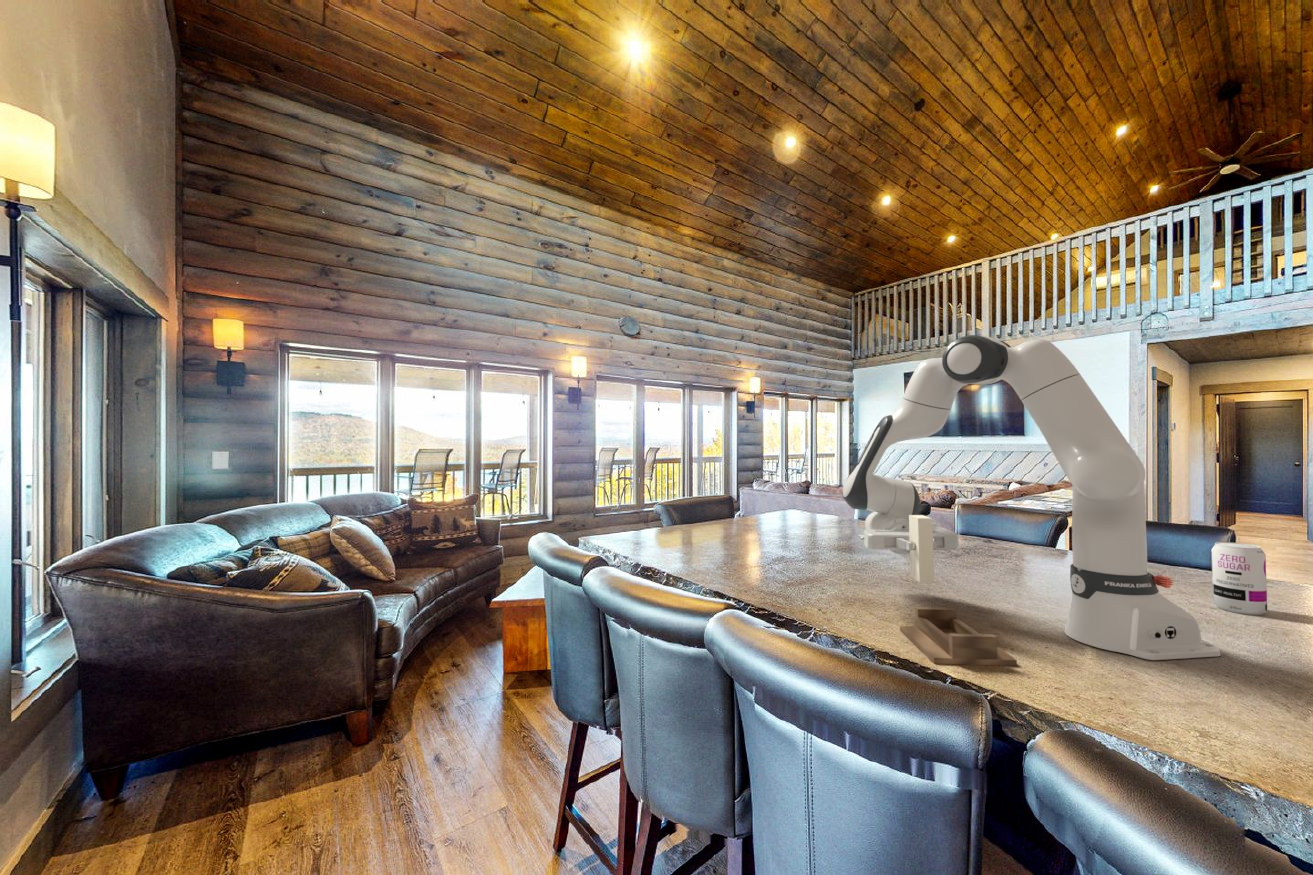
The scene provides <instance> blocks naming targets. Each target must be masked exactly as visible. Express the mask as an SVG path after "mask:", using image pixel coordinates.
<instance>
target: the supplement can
mask: <svg viewBox="0 0 1313 875" xmlns="http://www.w3.org/2000/svg"><path fill="white" fill-rule="evenodd" d="M1210 551H1211V577H1212V578H1211V583H1212V604H1214V605H1215V606H1216V607H1217V608H1218V609H1220V610H1223V611H1226V612H1232V613H1235V614H1241V615H1251V616H1260V615H1264V614H1265V613H1267V612H1268V589H1267V588H1268V587H1267V584H1268V583H1267V562H1266V557H1267V556H1266V553H1265V552H1264V550H1263V548H1262V547H1261V546H1259V545H1256V544H1249V543H1241V542H1231V541H1230V542H1228V541H1224V542H1223V541H1217V542H1216V541H1215V543H1214V545H1213V547H1212V548H1211V550H1210Z"/></svg>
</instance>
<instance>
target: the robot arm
mask: <svg viewBox="0 0 1313 875" xmlns="http://www.w3.org/2000/svg"><path fill="white" fill-rule="evenodd" d="M1003 381H1004V382H1007V383H1008V384H1009V385H1010V386H1011V387H1012V389H1013V390H1014V391H1015V393H1016V395H1017V396H1018V397H1019V399H1020V401H1021V402H1022V404H1023V406H1024V407H1025V409H1026V411H1027V412H1028V413H1029V415H1030V417H1031V418H1032V419H1033V421H1034V423H1035V425H1036V426H1037V427H1038V429H1039V430H1040V432H1041V434H1042V436H1043V437H1044V439H1045V441H1046V443H1047V445H1048V446H1049V449H1050V450H1051V452H1052V453H1053V455H1054V457H1055V459H1056V460H1057V462H1058V464H1059V466H1060V467H1061V469H1062V471H1063V472H1064V474H1065V475H1066V477H1067V479H1068V481H1069V482H1070V484H1071V485H1072V509H1071V510H1072V513H1071V515H1072V516H1071V540H1072V541H1071V544H1072V549H1071V550H1072V563H1071V564H1070V571H1069V573H1070V574H1069V576H1070V579H1069V580H1070V588H1071V591H1072V592H1071V593H1072V594H1071V603H1070V604H1071V605H1070V609H1069V611H1070V612H1069V615H1068V620H1067V622H1066V626H1065V628H1064V633H1065V634H1066V636H1067V637H1069V638H1071V639H1073V640H1075V641H1076V642H1080V643H1082V644H1085V645H1088V646H1091V647H1095V648H1098V649H1102V650H1106V651H1110V652H1116V653H1117V652H1118V653H1122V654H1126V655H1130V656H1133V657H1137V658H1140V659H1143V660H1150V661H1161V660H1164V661H1165V660H1177V659H1178V660H1179V659H1180V660H1181V659H1194V658H1195V659H1196V658H1210V657H1211V658H1212V657H1220V656H1221V650H1220V649H1219V648H1218V647H1217V646H1215V645H1213V644H1212V643H1210V642H1208V641H1206V640H1204V639H1202V636H1201V630H1200V626H1199V624H1198V621H1197V620H1196V618H1195V617H1194V616H1193V615H1192V614H1191V613H1190V612H1187V611H1186V610H1185V609H1183V608H1182V607H1180V606H1178V604H1176V603H1175V602H1173V601H1171V600H1170V599H1168V597H1166V596H1164V595H1163V594H1162V593H1160V591H1159V589H1158V587H1157V586H1160V587H1162V588H1165V589H1170V588H1171V587H1172V586H1173V584H1174V582H1173V579H1172V578H1170V577H1167V576H1163V575H1160V574H1158V575H1155V576H1154V574H1152V573H1150V572H1149V571H1148V544H1147V522H1146V520H1147V519H1146V502H1145V500H1146V499H1145V480H1146V469H1145V466H1144V464H1143V462H1142V461H1141V459H1140V458H1139V456H1138V454H1137V453H1136V452H1135V450H1134V449H1133V447H1132V446H1131V445H1130V443H1129V442H1128V440H1127V439H1126V437H1125V436H1124V435H1123V433H1122V432H1121V431H1120V429H1119V428H1118V426H1117V425H1116V423H1115V422H1114V420H1113V419H1112V418H1111V416H1110V415H1109V413H1108V412H1107V410H1106V409H1105V407H1104V405H1102V403H1101V401H1099V399H1098V398H1097V396H1096V394H1095V393H1094V392H1093V391H1092V389H1091V387H1090V386H1089V385H1088V383H1087V382H1086V380H1085V379H1084V377H1083V376H1082V375H1081V373H1080V372H1079V370H1078V368H1076V366H1075V364H1073V362H1072V361H1071V360H1070V359H1069V358H1068V357H1067V356H1066V355H1065V354H1064V353H1063V351H1062V350H1060V349H1059V348H1058V346H1056V345H1055V344H1054V343H1052V342H1051V341H1049V340H1047V339H1043V338H1041V339H1040V338H1037V339H1030V340H1027V341H1025V342H1022V343H1020V344H1018V345H1016V346H1010V344H1008V343H1007V342H1004V341H1002V340H999V339H996V338H994V337H991V336H986V335H976V334H969V335H965V336H960V337H959V338H956V339H954V340H953V341H951V342H950V344H948V346H947V347H946V348H945V349H944V351H943V354H942V358H939V357H934V358H933V357H931V358H927V359H924V360H922V361H921V362H920V363H918V364H917V366H916V368H915V369H914V371H913V373H912V375H911V377H910V379H909V381H908V383H907V386H906V388H905V391H904V393H903V396H902V399H901V402H900V403H899V405H898V407H897V408H896V409H895V410H894V411H892V413H890V415H885V416H883V417H882V418H881V419H880V421H879V422H878V423H877V425H876V426H875V428H874V430H873V432H872V433H871V436H870V437H869V439H868V441H867V443H866V445H865V447H864V448H863V451H862V452H861V454H860V457H859V458H858V460H857V462H856V464H855V466H854V467H853V469H852V471H851V472H850V473H849V474H848V477H846V479H845V482H844V484H843V487H842V497H843V499H844V501H845V502H846V504H847V505H848V506H849V507H850V508H851V509H852V510H861V511H870V512H871V513H870V514H868V515H867V517H865V520H864V530H863V533H861V534H857V537H858V539H859V540H863V545H864V546H865V548H867V549H869V550H874V551H875V550H881V551H883V550H886V551H890V552H892V553H894V554H897V555H907V554H910V550H916V547H915V546H916V543H915V542H913V541H909V515H919V514H918V513H919V511H920V507H921V506H920V504H921V499H920V498H921V497H920V495H919V492H918V490H917V488H916V487H915V485H914V484H913V483H912V482H910V481H906V480H902V479H897V478H892V477H891V478H890V477H886V476H881V475H877V474H874V473H875V471H876V469H877V468H878V465H879V464H880V462H881V459H882V457H883V456H884V454H885V452H886V451H887V449H888V448H889V447H890V446H892V445H894V444H896V443H900V442H905V441H910V440H919V439H924V438H928V437H931V436H933V435H935V434H936V433H938V432H940V431H941V430H942V429H943V428H944V427H945V426H944V425H945V424H946V423H947V420H948V418H949V415H950V413H951V410H952V407H953V404H954V401H955V398H956V396H957V393H959V391H960V390H961V389H962V388H963V387H965V386H991V385H994V384H998V383H1001V382H1003ZM959 544H960V543H959V535H958V534H957V532H955V531H952V530H949V529H947V528H945V527H942V526H938V524H937V523H936V522H933V551H939V550H941V551H956V550H958V549H959Z"/></svg>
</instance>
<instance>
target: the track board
mask: <svg viewBox="0 0 1313 875" xmlns="http://www.w3.org/2000/svg"><path fill="white" fill-rule="evenodd" d="M914 608H915V610H914V611H915V612H914V613H915V626H911V625H900V626H899V631H900V632H901V633H902V634H903V635H904V636H905V637H906V638H907V639H908V640H909V641H910V642H911V643H912V644H913V645H914V646H915V647H916V648H917V649H918V650H919V651H921V652H922V653H923V655H925V656H926V657H927V658H928V659H929V660H930V662H932V663H933V664H936V665H937V664H938V665H939V664H940V665H942V664H943V665H972V666H974V665H977V666H979V665H980V666H983V665H984V666H1006V667H1007V666H1012V667H1013V666H1014V667H1017V665H1018V663H1017V662H1018V660H1017V659H1016V658H1014V657H1013V656H1012V655H1010V654H1009V653H1007V652H1006V651H1004V650H1003V649H1001V648H1000V647H999V646H998V636H996V635H995V634H989V633H986V634H985V633H979V632H978V631H976V630H975V629H974V628H972V627H970V626H969V625H968V624H966V623H965V622H963V621H962V620H961V619H959V618H957V610H956V609H955V608H954V607H923V606H922V607H921V606H920V607H919V606H918V607H916V606H915V607H914Z"/></svg>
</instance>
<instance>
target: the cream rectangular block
mask: <svg viewBox="0 0 1313 875" xmlns="http://www.w3.org/2000/svg"><path fill="white" fill-rule="evenodd" d="M933 521H934V520H933V518H932V517H929V516H926V515H924V514H917V515H909V541H913V542H915V543H916V546H915V547H916V550H910V553H909V574H910V577H911V578H912V579H913V580H915V581H916V582H918V583H921V584H922V583H923V584H924V583H925V584H926V583H927V584H934V583H935V574H934V573H935V569H934V568H935V567H934V566H935V565H934V564H935V563H934V550H933V523H934V522H933Z"/></svg>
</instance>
